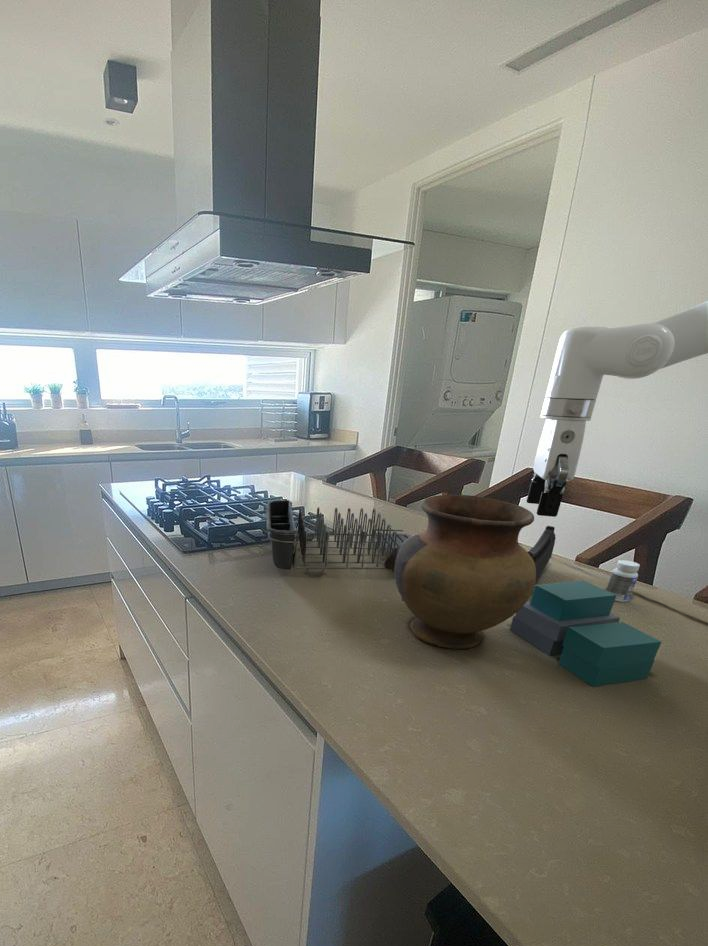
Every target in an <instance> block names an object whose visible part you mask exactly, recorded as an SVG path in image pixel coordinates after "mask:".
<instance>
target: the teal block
mask: <svg viewBox="0 0 708 946" xmlns="http://www.w3.org/2000/svg"><path fill="white" fill-rule="evenodd" d="M615 598H616V595H615V594H613V593H611V592H608V591H606V589H604V588H602V587H600V586H597V585H594V584H593V583H590V582H589V581H587V580H584V579H583V580H575V581H564V582H552V583H542V584H535V587H534V590H533V592H532V594H531V598H530V601H529V602H530V605H532V606H534V607H535V608H537V609H539V610H541V611H542V612H544V613H546V614H548V615H549V616H551V617H553V618H555V619H557V620H558V621H563V620H572V619H581V618H589V617H598V616H607V615H610V613H612V609H613V606H614V603H615V602H616V601H615Z"/></svg>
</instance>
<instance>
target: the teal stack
mask: <svg viewBox="0 0 708 946" xmlns="http://www.w3.org/2000/svg"><path fill="white" fill-rule="evenodd" d="M661 644H662V640H659V639H658V638H655V637H653V636H651V635H650V634H647V633H646V632H643V631H641V630H639V629H638V628H636V627H634V626H632V625H630V624H628V623H626V622H624V621H619V622H616V623H606V624H595V625H585V626H575V627H568V629H567V633H566V636H565V639H564V642H563V646H564V648H563V651H562V654H560V658H559V660H558V665H559V666H561V667H563V668H564V669H565V670H567V671H568V672H570V673H572V674H573V675H574V676H576V677H577V678H579V679H581V680H582V681H584V682H585V683H587V685H589V686H591V687H600V686H606V685H614V684H619V683H625V682H626V683H627V682H632V681H638V680H645V679H648V677H649V674H650V672H651V669H652V667H653V665H654V663H655V658H656V656H657V653H658V651H659V649H660V647H661Z"/></svg>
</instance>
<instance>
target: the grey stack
mask: <svg viewBox="0 0 708 946" xmlns="http://www.w3.org/2000/svg"><path fill="white" fill-rule="evenodd" d="M530 602H531V601H527V602H526V603H525V604H524V606H523V607H522V608H521V609H520V610H519V611H518V612H517V613H515V614H514V615H513V616H512V620H511V624H510V627H509V630H510V631H511V632H512V633H514V634H515V635H517V636H518V637H520V638H521V639H523V640H524V641H526V642H528V643H529V644H531V645H532V646H533V647H535V648H536V649H538V650H540V651H541V652H543V653H544V654H546V655H547V656H549V657H551V656H559V655H561V654H562V651H563V648H564V646H563V642H564V639H565V636H566V633H567V629H568V627H575V626H585V625H595V624H606V623H616V622H620V620H621V616H619V615H617V614H615V613H612V612H610V615H607V616H598V617H589V618H581V619H572V620H563V621H558V620H557V619H555V618H553V617H551V616H549V615H548V614H546V613H544V612H542V611H541V610H539V609H537V608H535V607H534V606H532V605H530Z"/></svg>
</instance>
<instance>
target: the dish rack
mask: <svg viewBox="0 0 708 946" xmlns="http://www.w3.org/2000/svg"><path fill="white" fill-rule="evenodd" d="M292 509H293V502H292V501H291V500H289V499H282V500H281V499H278V500H272V501H269V502H267V503H266V518H265V519H266V530H267V538H268V539H270V549H271V559H272V562H273V565H274V566H275V568H277V569H280V570H286V571H287V570H288V571H291V570H292V568H293V569H298V570H299V569H300V570H306V571H305V572H306V575H308V576H311V577H313V576H314V577H317V576H318V577H321V576H323V575H324V573H325V570H387V569H386V568H385V566H379V564H384V562H385V561H383V562H382V561H380V557H385V559H386V558H387V557H388V555H389V554H390V553H391V552H392V550H393V549H394V548H396V547H398V546H400V545H401V544H402V543H403V542H404V541H405V540H407V539H408V538H409V537H410V536H412V535H411V534H407V533H397V532H404V531H405V529H392V525H391V524H390V523H388V524H387V527H386V523H387V522H386V518H385V517H383V518H382V517H381V516H382V515H381V512H378V513H377V510H376V508H375V507H373V508H372V513H371V517H369V518H368V513H367V512H365V513H364V508H363V507H361V508H360V511H359V517H355V513H354V512H351V508H350V507H348V508H347V512H346V513H347V514H346V521H344V517H341V512H340V511H339V512H338V510H339V509H338V507H335V508H334V513H333V514H334V515H333V523H332V533H330V531H329V530H328V529H327V524H326V523H324V521H325V519H324V517H322V515H323V514H322V512H320V507H319V506H318V507H317V509H316V517H315V527H314V529H315V531H314V532H308V530H306V523H304V522H305V521H304V519H305V518H304V517H303V512H302V507H301V506H299V508H298V518H297V519H298V521H297V527H296V524H295V520H294V513H293V510H292ZM376 513H377V514H376ZM376 515H377V517H376ZM381 518H382V519H381ZM344 523H345V524H344ZM308 536H312V537H308ZM315 536H316V537H315ZM330 536H333V540H330ZM314 537H315V539H316V540H314ZM367 539H368V540H367ZM309 542H310V543H311V542H312V543H315V542H316V543H317V546H307V545H308V543H309ZM330 543H336V546H329V544H330ZM298 545H299V546H298ZM366 545H367V547H366ZM298 547H299V548H300V555H301V562H302V564H303V566H296V559H297V552H298ZM307 549H319V550H320V551H319V553H307ZM329 549H339V553H329ZM350 549H352V550H353V551H352V553H351V554H350ZM371 550H372V552H371ZM365 552H366V553H367V554H366V553H365ZM385 552H386V554H385ZM307 556H322V559H321V561H307ZM328 556H342V561H328V558H329V557H328ZM350 556H357V558H356V561H349V560H350ZM361 556H362V557H361ZM365 556H367V557H369V556H371V558H370V559H371V561H365ZM375 559H376V561H375ZM306 564H324V566H306ZM328 564H345V566H328ZM349 564H361V566H349ZM364 564H376V566H364ZM309 570H321V572H309Z"/></svg>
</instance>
